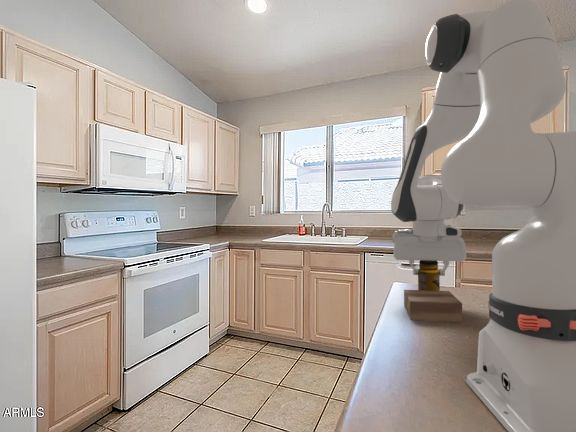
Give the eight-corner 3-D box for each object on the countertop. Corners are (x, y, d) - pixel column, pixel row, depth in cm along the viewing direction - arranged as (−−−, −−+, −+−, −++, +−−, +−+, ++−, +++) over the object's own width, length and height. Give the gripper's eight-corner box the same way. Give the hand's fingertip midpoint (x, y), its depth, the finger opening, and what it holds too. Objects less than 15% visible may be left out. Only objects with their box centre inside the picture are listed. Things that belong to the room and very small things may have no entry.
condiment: (446, 302, 96) (445, 262, 96) (419, 304, 95) (418, 263, 95) (432, 295, 104) (431, 258, 103) (407, 297, 103) (406, 259, 102)
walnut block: (462, 323, 80) (462, 303, 80) (410, 320, 82) (410, 301, 82) (449, 308, 92) (449, 291, 92) (404, 306, 94) (403, 289, 94)
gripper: (392, 230, 99) (392, 275, 99) (467, 230, 93) (468, 278, 93) (391, 229, 105) (392, 271, 105) (462, 228, 99) (462, 274, 99)
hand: (428, 275), depth 99 cm, fingers open, 6 cm apart
